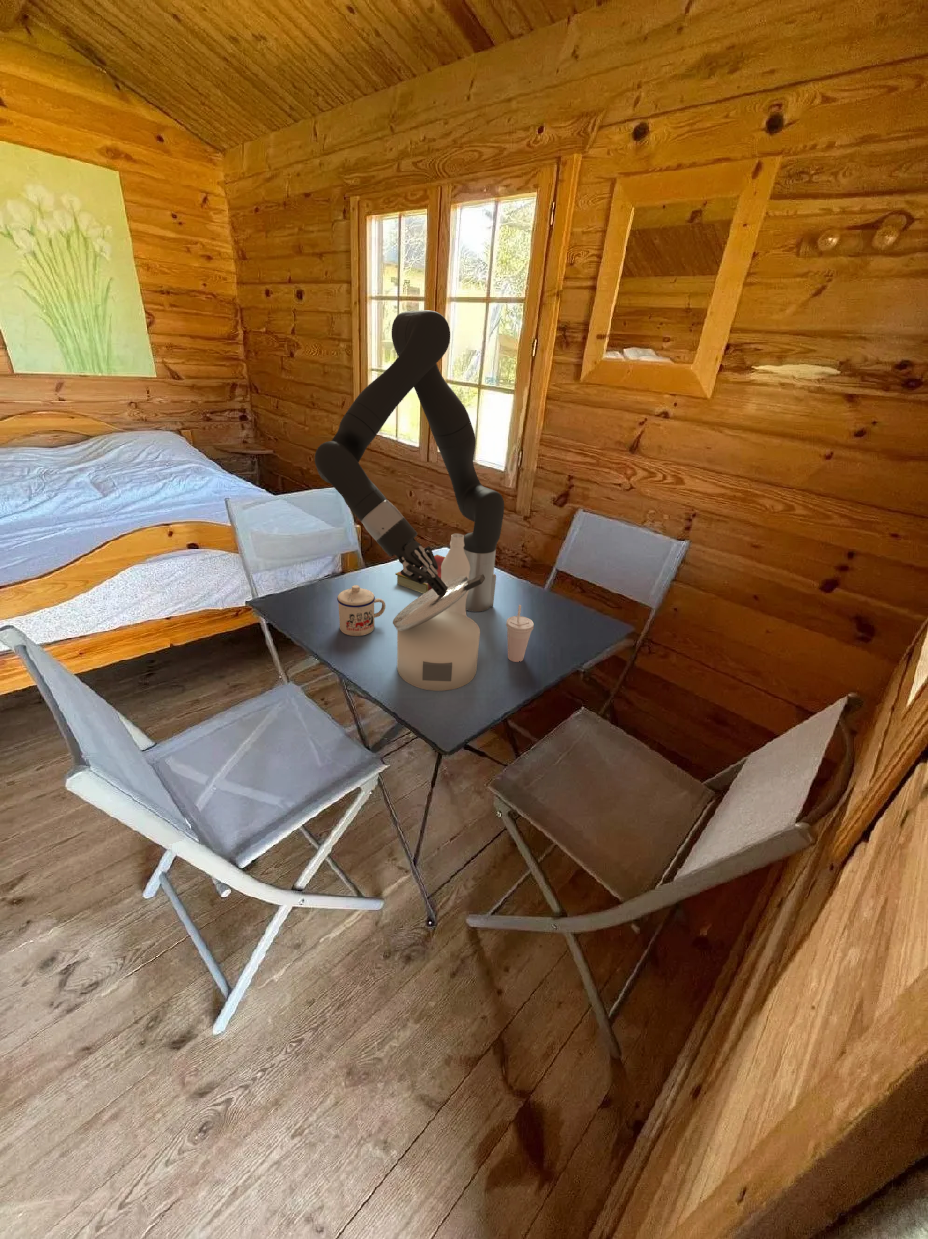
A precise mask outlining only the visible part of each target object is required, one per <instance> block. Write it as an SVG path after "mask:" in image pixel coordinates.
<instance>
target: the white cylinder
mask: <svg viewBox="0 0 928 1239" xmlns="http://www.w3.org/2000/svg"><path fill="white" fill-rule="evenodd" d="M396 631H397V633H396V635H397V638H396V639H397V642H396V644H397V647H396V648H397V657H396V659H397V662H396V664H397V665H396V667H397V668H396V669H397V672H398V675H399V676H400V678H401V679H402V680H403V681H404V682H405V683H407V684H409V685H411V686H413V687H416V688H418V689H422V690H427V691H433V692H435V691H437V692H438V691H439V692H441V691H443V692H444V691H452V690H456V689H459V688H462V687H464V686H466V685H468V684H469V683H470V682H472V680H473V679H474V678H475V676H476V675H477V668H478V666H477V665H478V658H479V657H478V656H479V646H480V645H479V644H480V637H481V636H480V635H481V630H480V627H479V625H478V623H476V621H474V620H473V619H472V618H470V617H468V616H465V615H462V614H459V613H456V612H451V611H443V612H442V613H440V614H439V615H437V616H435V617H434V618H432V619H430V620H428V621H426V622H424V623H422V624H420V625H418V626H416V627H413V628H411V629H408V630H403V631H398V630H397V629H396Z"/></svg>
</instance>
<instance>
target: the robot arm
mask: <svg viewBox="0 0 928 1239" xmlns="http://www.w3.org/2000/svg"><path fill="white" fill-rule="evenodd" d="M450 329H451V328H450V325H449V323H448V321H447V319H446V318H445V316H443V315H442V314H441V313H440V312H437V311H434V310H429V309H427V310H426V309H425V310H423V309H422V310H421V309H420V310H406V311H402V312H401V313H398V315H396V316H395V318H394V320H393V322H392V325H391V341H392V345H393V348H394V351H395V353H396V355H397V358H396V359H395V360H394V362H392V363H391V365H390V366H389V367H388V368H387V369H385V371H384V372H383V373H381V374H380V375H379V376H378V377H376V379H374V380H373V381H372V382H370V384H368V385H367V386H366V387H365V388H364V389H363V390H361V392H360V393H359V394H358V396H357V397H356V398H355V399H354V401H353V402H352V404H351V405H350V406H349V408H348V409H347V411H346V413H344V415H343V417H342V419H341V420H340V423H339V426H338V430H337V432H336V434H334V437H333V438H332V440H330V441H325V442H323V443H321V444H319V446H318V447H317V449H316V451H315V453H314V463H315V464H314V465H315V467H316V471H317V473H318V475H319V477H320V478H321V480H323V481H324V482H326V483H328V484H331V485H332V487H333V488H334V489H335V490H336V492H338V493H339V495H341V497H342V498H343V500H344V502H345V503H346V505H347V507H348V508H349V510H350V511H351V512H352V514H354V516H355V517H357V519H358V520H359V521H360V522H361V524H363V525H362V526H363V527H364V528H365V530H366V532H368V533H369V535H370V536H371V537H372V538H373V539H374V541H376V543H377V544H378V545H379V547H381V549H382V550H383V551H384V552H385V553H386V554H387V556H388V557H391V558H392V557H394V556H396V558H397V560H398V562H399V563H400V564H402V569H401V570H400V571H401V574H402V575H403V576H405V577H407V578H409V579H411V580H413V581H415V582H417V583H419V584H423V583H426V584H427V583H428V584H429V585H430V586H431V588H432V589H433V590H434V591H435V592H436V593H437V595H439V596H441V595H442V594H444V593H445V592H446V591H447V589H448V587H447V586H446V585H445V584H444V582H443V581H442V580H441V579H440V578H439V576H438V575H437V574H438V572H437V570H438V565H437V563H436V560H435V557H434V556H435V555H434V553H433V550H432V548H431V547H430V546H429V545H427V546H426V547H423V546H422V544H421V543H420V542H418V541H417V540H416V539H415V538H416V537H417V536H418V532H417V531H416V529H415V528H414V527H413V526H412V525H411V524H410V523H409V521H408V520H407V519H406V518H405V517H404V516H403V514H402V512H400V510H398V508H397V507H396V505H393V503H392V502H390V501H389V500H388V499H387V497H386V496H385V495H384V494H383V492H382V491H381V490H380V489H379V487H377V485H375V483H374V482H373V481H372V480H371V479H370V478H369V476H368V474H367V473H366V472H365V470H364V469H363V468H362V466H361V464H360V461H361V459H362V457H363V455H364V453H365V452H366V449H367V448H368V447H369V445H370V444H371V443H372V442H373V441H374V439H375V438H376V436H377V435H378V434H379V432H380V430H381V429H382V428H383V426H384V425H385V424H386V422H387V420H388V419H389V417H390V416H391V414H392V413H393V412H394V411H395V410H396V408H397V407H398V406H399V405H400V403H401V402H402V401H403V400H404V399H405V397H407V395H408V394H409V393H410V391H412V389H414V390H415V393H416V395H417V397H418V400H419V403H420V405H421V408H422V411H423V412H424V415H425V417H426V421H427V423H428V424H429V428H430V431H431V433H432V434H431V435H432V436H433V440H434V441H435V442H434V443H436V447H437V448H438V451H439V453H440V455H441V457H442V461H443V463H444V467H445V469H446V471H447V472H448V476H449V478H450V481H451V485H452V489H453V493H454V496H455V499H456V500H455V501H456V504H457V506H458V510H459V512H460V513H461V515H462V517H464V518H466V519H467V520H469V521H471V522H473V523H474V524H473V529H472V530H473V531H472V532H468V533H465V534H463V535H464V547H463V548H464V552H465V555H466V557H467V559H468V561H469V564H470V572H469V580H471V579H473V578H476V577H478V576H480V575H482V574H483V575H484V576H485V580H484V581H483V583H482V584H480V585H478V586H476V587H474V588H472V589H469V592H468V595H467V598H466V606H465V608H466V612H467V611H469V612H476V613H477V612H478V613H479V612H483V611H487V610H489V609H490V608H491V607H494V604H495V603H494V601H495V593H496V592H495V591H496V583H497V582H496V581H497V575H496V574H495V573H494V571H495V563H496V552H497V551H496V550H497V544H498V542H499V540H500V537H501V533H502V527H503V520H504V515H505V501H504V498H503V496H502V494H501V493H500V492H499V491H496V490H494V489H492V488H488V487H486V486H484V485H483V484H482V483H481V481H480V479H479V476H478V475H477V472H476V468H475V465H474V456H475V451H476V441H477V440H476V435H475V430H474V427H473V425H472V422H471V419H470V415H469V413H468V411H467V409H466V407H465V405H464V404H463V403H462V401H461V400H460V399H459V397H458V396H457V394H456V393H455V391H454V390H453V389H452V388H451V386H450V385H449V384H448V383H447V382H446V380H445V378H444V377H443V375H442V373H441V371H440V369H439V366H438V365H437V363H438V362H439V361H440V360H441V359H442V358H443V357H444V355H445V354H446V352H447V351H448V349H449V347H450V343H451V342H450V341H451V330H450ZM422 566H423V567H422ZM419 577H420V578H419Z"/></svg>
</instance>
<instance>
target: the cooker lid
mask: <svg viewBox="0 0 928 1239" xmlns="http://www.w3.org/2000/svg"><path fill="white" fill-rule="evenodd" d="M484 580H485V576H484V575H483V574H482V575H480V576H478V577H476V578H473V579H471V580H468V578H467V577H466V576H461V577H457V578H454V579H451V580H449V581H446V582H444V584H445V585H446V586H447V587H448V589H447V591H446V592H445V593H444V594H442V595H441V596H439V595H437V593H436V592H435V591H434V590H433V589H431V590H429V591H428V592H426V593H424V594H423V593H422V595H420V596H418V597H417V598H416V599H414V600H412V601H411V602H410V603H408V604H407V605H406V606H405V607H404V608H402V610H400V611H399V612H398V613H397V615H395V617H394V618H393V620H392V625H393V626H394V628H395V629H396V631H397V630H398V631H403V630H408V629H411V628H413V627H416V626H418V625H420V624H422V623H424V622H426V621H428V620H430V619H432V618H434V617H435V616H437V615H439V614H440V613H442V612H443V611H445V610H446V609H448V608H449V607H450V606H452V605H453V604H454V603H456V602H457V601H458V600H459V599H460V598H461V597H463V596H464V595H465V594H466V592H467V591H468V590H469V589H472V588H474V587H476V586H478V585H480V584H482V583H483V581H484Z"/></svg>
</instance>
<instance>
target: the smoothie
mask: <svg viewBox="0 0 928 1239" xmlns="http://www.w3.org/2000/svg"><path fill="white" fill-rule="evenodd" d="M517 609H518V610H517V615H513V616H510V617H508V618H507V619H506V622H505V623H506V624H505V626H506V628H507V631H506V632H507V635H506V636H507V658H508V660H510V661H511V662H514V663H515V662H516V663H519V661H520V662H522V661H523V660H524V657H525V654H526V651H527V646H528V644H529V640H530V636H531V634H532V631H533V630H534V624H535V623H534V622H533V620H532V619H530V618H528V617H526V616H522V615H521V612H522V604H518V608H517Z"/></svg>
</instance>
